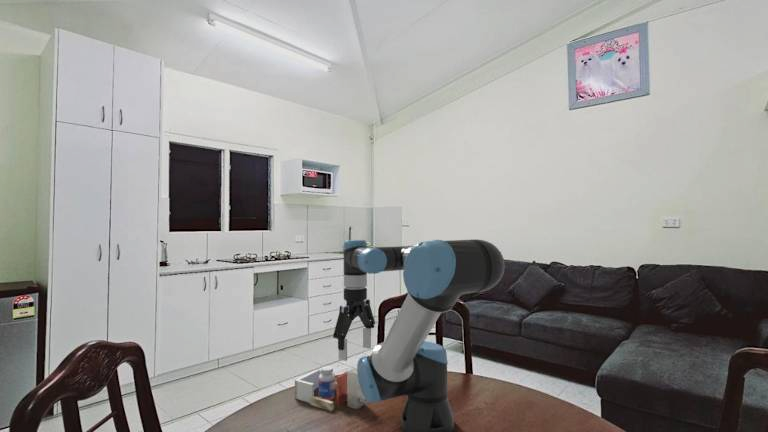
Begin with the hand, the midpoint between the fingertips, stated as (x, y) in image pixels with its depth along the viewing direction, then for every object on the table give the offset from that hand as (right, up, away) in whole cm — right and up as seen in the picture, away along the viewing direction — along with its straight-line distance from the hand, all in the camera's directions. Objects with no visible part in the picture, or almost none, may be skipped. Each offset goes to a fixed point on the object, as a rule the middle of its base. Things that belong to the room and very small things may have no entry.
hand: (355, 353), depth 125 cm
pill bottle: (-10, -17, +5) cm, 20 cm away
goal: (-14, -17, +8) cm, 23 cm away
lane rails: (-7, -17, +4) cm, 19 cm away
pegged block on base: (0, -16, -1) cm, 16 cm away
